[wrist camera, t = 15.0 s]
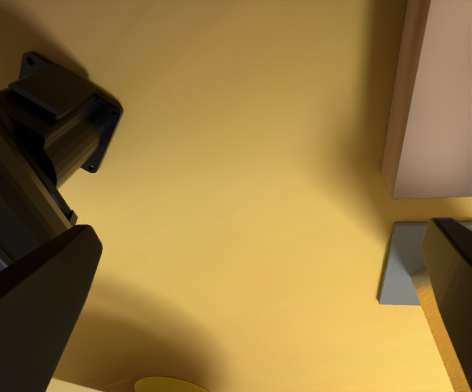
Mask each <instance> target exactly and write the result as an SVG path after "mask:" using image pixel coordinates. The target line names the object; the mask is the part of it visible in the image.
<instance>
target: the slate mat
mask: <svg viewBox="0 0 472 392" xmlns="http://www.w3.org/2000/svg"><path fill="white" fill-rule="evenodd" d="M459 223H460V224H462V225H463V226H465V227H467V228H468V229H470V230H471V231H472V221H465V222H459ZM427 224H428V222H412V223H395V224H394V229H393V233H392V238H391V243H390V247H389V252H388V257H387V262H386V266H385V271H384V276H383V280H382V285H381V290H380V295H379V299H378V302H379V304H386V305H421V304H420V301H419V299H418V296H417V294H416V291H415V288H414V286H413V283H412V281H411V278H410V276H411V275H412V274H414V273H415V272H416V271H417V270H419V269H420V268H421V267H422V266H424V265H425V264H426V263H425V260H424V256H423V252H422V241H423V238H424V234H425V231H426V228H427Z"/></svg>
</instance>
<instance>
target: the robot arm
mask: <svg viewBox="0 0 472 392" xmlns="http://www.w3.org/2000/svg"><path fill="white" fill-rule="evenodd" d="M31 58H32V59H34V61H35V63H33V62H32V60H31ZM112 108H115V109H116V110H117V113H115V112H114V111H113V109H112ZM122 114H123V108H122V106H121V105H120V104H119V103H117V102H115V101H114V100H112V99H111V98H109V97H107V96H106V95H104V94H102V93H101V92H99V91H98V90H96V89H95V88H94V87H93V86H92V85H90V84H89V83H87V82H85V81H84V80H82V79H81V78H79V77H77V76H76V75H74V74H72V73H71V72H69V71H68V70H66V69H64V68H63V67H61V66H60V65H58V64H54V63H52V62H51V61H49V60H48V59H46V58H44V57H43V56H41V55H39V54H38V53H36V52H34V51H29V52H26V53H24V54H23V57H22V63H21V69H20V75H19V80H17V81H14V82H12V83H10V84H9V85H8V88H5V89H3V90H1V91H0V392H46V389H47V387H48V385H49V383H50V380H51V378H52V376H53V374H54V371H55V369H56V367H57V365H58V362H59V360H60V358H61V356H62V353H63V351H64V349H65V347H66V344H67V342H68V340H69V338H70V335H71V333H72V331H73V329H74V326H75V324H76V322H77V320H78V317H79V315H80V313H81V311H82V308H83V306H84V304H85V301H86V299H87V296H88V293H89V291H90V288H91V284H92V281H93V278H94V275H95V272H96V269H97V266H98V263H99V260H100V257H101V254H102V250H103V247H102V243H101V241H100V240H99V238H98V236H97V234H96V233H95V231H94V229H93V227H92V226H90V225H87V224H86V225H75V224H76V221H77V219H78V217H77V215H76V214H75V212H74V211H73V210H71V209H70V208H69V206H68V205H67V203H66V202H65V200H64V199H63V197H62V196H61V195H60V193H59V192H58V189H59V188H60V187H61V186H62V185H63V184H64V183H65V182H66V181H67V180H68V179H69V178H70V177H71V176H72V175H73V174H74V173H75V172H76V171H77V170H78V169H79V168H80V167H81V168H83V169H84V170H86V171H88V172H90V173H96V172H97V171H98V169H99V168H100V166H101V163H102V161H103V159H104V156H105V154H106V152H107V149H108V147H109V145H110V142H111V140H112V138H113V135H114V133H115V131H116V128H117V126H118V124H119V121H120V119H121V117H122ZM91 165H92V166H93V167H94V168H93V167H92V166H91ZM422 252H423V256H424V260H425V263H426V267H427V271H428V274H429V278H430V282H431V285H432V289H433V293H434V297H435V300H436V304H437V307H438V310H439V313H440V316H441V318H442V321H443V323H444V326H445V328H446V331H447V333H448V336H449V338H450V341H451V343H452V346H453V348H454V351H455V353H456V355H457V358H458V360H459V363H460V365H461V368H462V370H463V373H464V375H465V378H466V380H467V383H468V385H469V388H470V390H471V392H472V231H471V230H470V229H468V228H467V227H465V226H463V225H462V224H460V223H459V222H457V221H456V220H454V219H452V218H449V217H437V218H431V219H430V220H429V222H428V224H427V228H426V231H425V234H424V238H423V241H422Z"/></svg>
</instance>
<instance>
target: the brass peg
mask: <svg viewBox="0 0 472 392" xmlns="http://www.w3.org/2000/svg"><path fill="white" fill-rule="evenodd" d="M410 278H411V281H412V283H413V286H414V288H415V291H416V294H417V296H418V299H419V301H420V304H421V306H422V309H423V312H424V314H425V317H426V319H427V322H428V324H429V327H430V330H431V332H432V335H433V337H434V340H435V342H436V345H437V348H438V350H439V353H440V355H441V358H442V360H443V363H444V366H445V368H446V371H447V373H448V376H449V379H450V381H451V384H452V386H453V389H454V391H455V392H471V390H470V388H469V385H468V383H467V380H466V378H465V375H464V373H463V370H462V368H461V365H460V363H459V360H458V358H457V355H456V353H455V351H454V348H453V346H452V343H451V341H450V338H449V336H448V333H447V331H446V328H445V326H444V323H443V321H442V318H441V316H440V313H439V310H438V307H437V304H436V300H435V297H434V293H433V289H432V285H431V282H430V278H429V274H428V271H427V267H426V264H425V265H424V266H422V267H421V268H420V269H419V270H417V271H416V272H415V273H414V274H412V275H411V276H410Z"/></svg>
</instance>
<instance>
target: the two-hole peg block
mask: <svg viewBox="0 0 472 392" xmlns="http://www.w3.org/2000/svg"><path fill="white" fill-rule="evenodd" d="M381 175H382V177H383V179H384V181H385V184H386V186H387V188H388V190H389V193H390V195H391V197H392V199H413V198H444V197H472V0H407V7H406V13H405V20H404V26H403V32H402V39H401V45H400V52H399V58H398V64H397V71H396V77H395V84H394V90H393V96H392V103H391V109H390V116H389V122H388V128H387V135H386V141H385V148H384V154H383V160H382V167H381Z"/></svg>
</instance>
